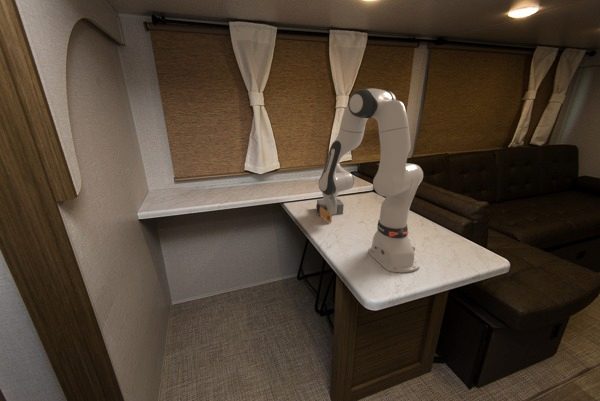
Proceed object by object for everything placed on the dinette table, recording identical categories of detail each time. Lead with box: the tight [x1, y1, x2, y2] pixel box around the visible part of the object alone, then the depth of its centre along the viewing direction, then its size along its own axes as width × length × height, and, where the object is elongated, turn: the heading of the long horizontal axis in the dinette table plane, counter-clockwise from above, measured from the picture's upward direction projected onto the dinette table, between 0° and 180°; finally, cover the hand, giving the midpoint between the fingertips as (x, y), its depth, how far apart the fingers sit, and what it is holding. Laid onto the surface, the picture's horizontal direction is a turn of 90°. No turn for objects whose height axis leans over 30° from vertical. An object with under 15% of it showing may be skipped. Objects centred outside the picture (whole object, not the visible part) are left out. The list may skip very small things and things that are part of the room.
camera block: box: [315, 197, 345, 215], centre depth 155 cm, size 10×15×7 cm, turn 97°
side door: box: [318, 207, 333, 224], centre depth 144 cm, size 2×12×5 cm, turn 25°
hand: (329, 214), depth 143 cm, fingers closed
